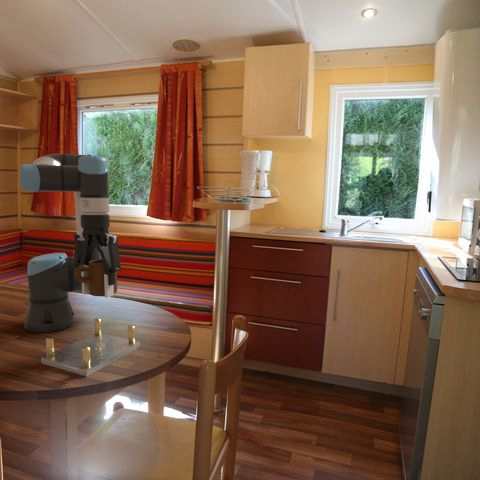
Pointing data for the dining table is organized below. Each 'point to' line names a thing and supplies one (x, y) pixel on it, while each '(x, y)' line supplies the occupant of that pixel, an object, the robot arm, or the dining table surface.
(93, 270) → the mug
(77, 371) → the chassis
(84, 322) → the dining table surface
